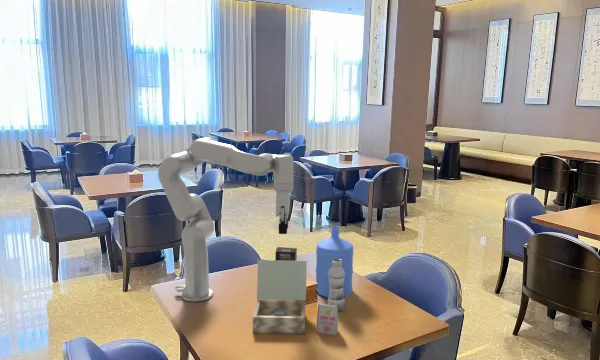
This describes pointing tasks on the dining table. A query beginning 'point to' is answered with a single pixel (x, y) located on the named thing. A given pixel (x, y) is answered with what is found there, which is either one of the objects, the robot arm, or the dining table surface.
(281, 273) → the lid
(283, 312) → the block
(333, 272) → the plastic bottle
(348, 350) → the dining table surface
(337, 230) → the water jug
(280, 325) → the box
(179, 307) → the dining table surface
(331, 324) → the tea bag
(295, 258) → the coffee box
